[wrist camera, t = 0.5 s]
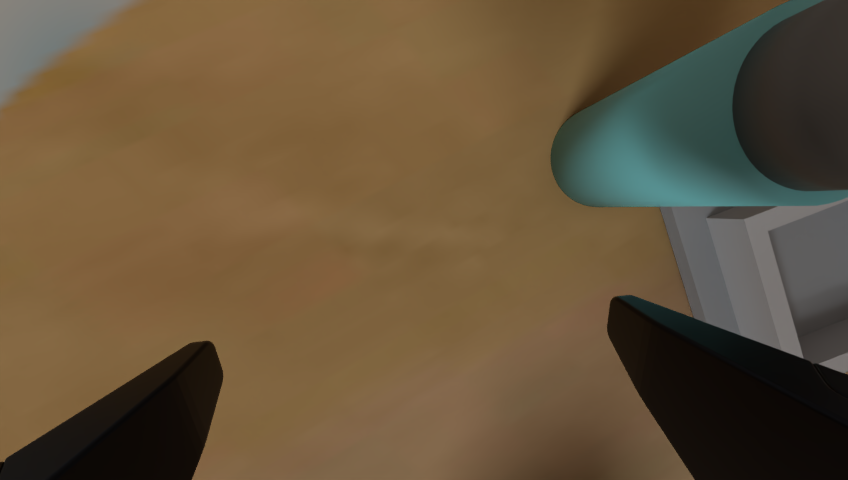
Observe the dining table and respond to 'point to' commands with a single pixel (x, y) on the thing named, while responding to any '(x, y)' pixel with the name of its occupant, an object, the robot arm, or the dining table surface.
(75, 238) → the dining table surface
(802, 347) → the tray
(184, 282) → the dining table surface
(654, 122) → the teal flask
